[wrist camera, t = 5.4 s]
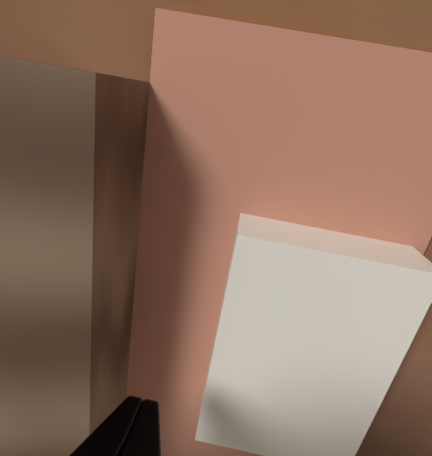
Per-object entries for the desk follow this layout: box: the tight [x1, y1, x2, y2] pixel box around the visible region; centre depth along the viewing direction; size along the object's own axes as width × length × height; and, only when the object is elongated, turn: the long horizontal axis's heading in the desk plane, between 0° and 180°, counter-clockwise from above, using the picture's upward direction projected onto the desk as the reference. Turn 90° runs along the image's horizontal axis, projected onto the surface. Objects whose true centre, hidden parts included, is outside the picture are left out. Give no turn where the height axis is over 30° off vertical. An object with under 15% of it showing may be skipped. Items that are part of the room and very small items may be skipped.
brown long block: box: [0, 56, 150, 456], centre depth 12 cm, size 16×7×4 cm, turn 171°
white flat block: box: [195, 213, 432, 456], centre depth 12 cm, size 9×6×2 cm, turn 171°
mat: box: [126, 8, 432, 456], centre depth 13 cm, size 20×10×1 cm, turn 171°
